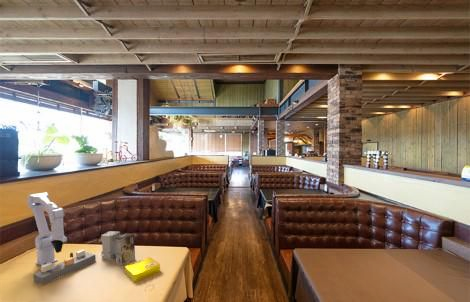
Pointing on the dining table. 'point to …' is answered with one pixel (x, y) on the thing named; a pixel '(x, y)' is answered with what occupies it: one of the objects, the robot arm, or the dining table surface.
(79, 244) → the dining table surface
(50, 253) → the robot arm
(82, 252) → the paddle
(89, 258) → the breaker panel
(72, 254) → the cord posts
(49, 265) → the paddle
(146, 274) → the element tile
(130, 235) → the coffee box
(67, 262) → the orange block
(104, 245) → the circuit breaker
